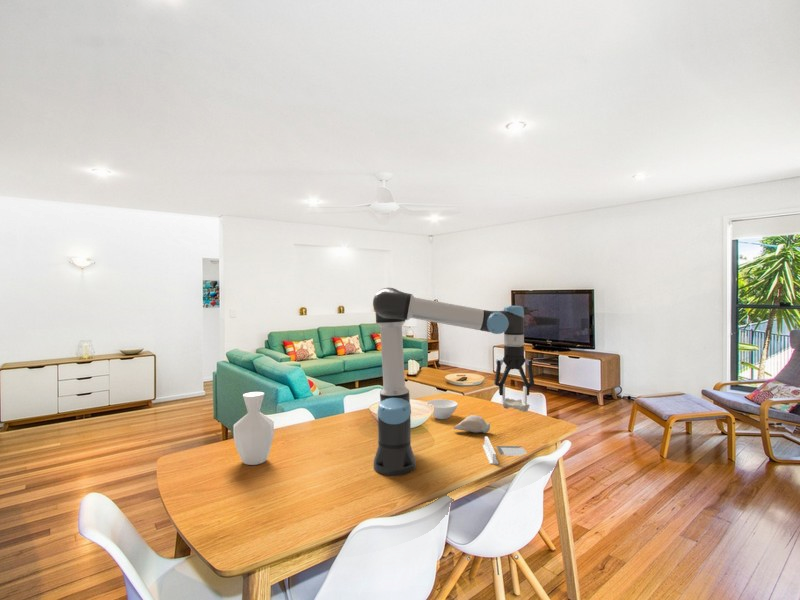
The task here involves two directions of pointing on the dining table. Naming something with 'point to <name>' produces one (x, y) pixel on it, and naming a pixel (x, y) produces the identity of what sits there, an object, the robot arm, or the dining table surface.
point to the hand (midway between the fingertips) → (514, 403)
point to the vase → (253, 431)
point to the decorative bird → (473, 424)
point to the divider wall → (490, 451)
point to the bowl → (443, 408)
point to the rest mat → (511, 450)
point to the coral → (516, 404)
